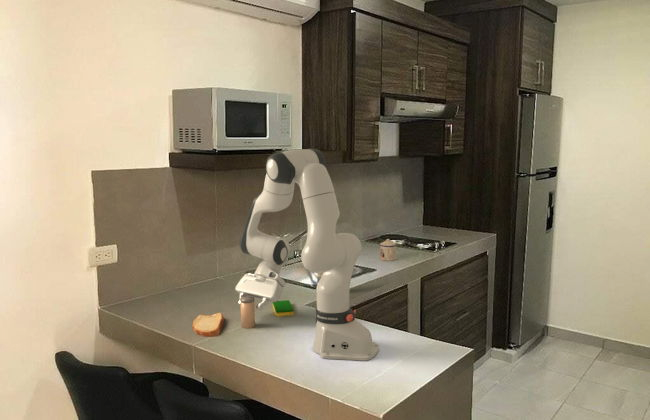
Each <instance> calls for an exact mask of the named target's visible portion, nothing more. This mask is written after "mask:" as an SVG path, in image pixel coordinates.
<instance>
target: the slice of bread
mask: <svg viewBox="0 0 650 420" xmlns="http://www.w3.org/2000/svg"><path fill="white" fill-rule="evenodd" d="M224 321H225V319H224V315H223V314H222V313H221V312H217V313H213V314H211V315H207V314H198V315H197V316H196V318H194V320H193V322H192V326H191V327H192V329H193V332H194V333H195V334H196V335H197V336H200V337H204V338H213V337H217V336H219V335H220V333H221V331H222V329H223V326H224V323H225V322H224Z"/></svg>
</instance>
